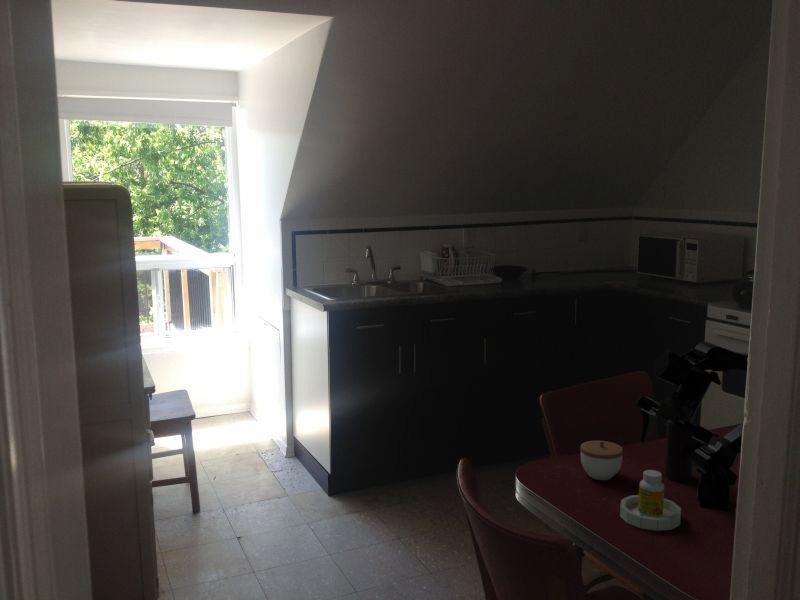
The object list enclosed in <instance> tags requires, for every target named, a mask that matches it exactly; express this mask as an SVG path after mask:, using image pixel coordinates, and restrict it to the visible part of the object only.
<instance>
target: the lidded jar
mask: <svg viewBox="0 0 800 600" xmlns="http://www.w3.org/2000/svg"><path fill="white" fill-rule="evenodd" d="M579 448H580V461H581V465H582V467H583V470H584V471H585V472H586V473H587V474H588V477H590V478H591V477H592V478H591V479H593V478H594V480H597V481H609V479H610V480H612V479H613V478H612V477H615V476H616V474H618V473H619V471H620V470H621V467H622V463H623V455H624V448H623V447H622V446H621V445H619V444H617V443H614V442H612V441H607V440H590V441H589V440H588V441H584V442H583V443H581V444H580V447H579ZM611 478H612V479H611Z"/></svg>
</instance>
